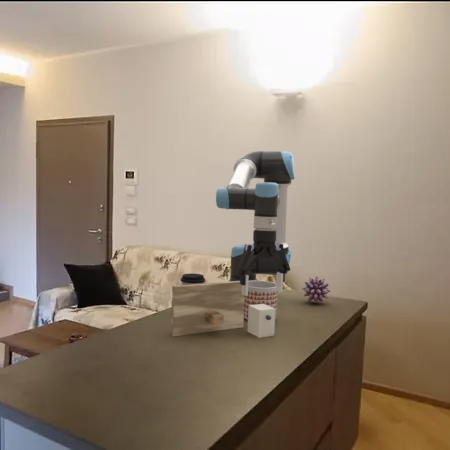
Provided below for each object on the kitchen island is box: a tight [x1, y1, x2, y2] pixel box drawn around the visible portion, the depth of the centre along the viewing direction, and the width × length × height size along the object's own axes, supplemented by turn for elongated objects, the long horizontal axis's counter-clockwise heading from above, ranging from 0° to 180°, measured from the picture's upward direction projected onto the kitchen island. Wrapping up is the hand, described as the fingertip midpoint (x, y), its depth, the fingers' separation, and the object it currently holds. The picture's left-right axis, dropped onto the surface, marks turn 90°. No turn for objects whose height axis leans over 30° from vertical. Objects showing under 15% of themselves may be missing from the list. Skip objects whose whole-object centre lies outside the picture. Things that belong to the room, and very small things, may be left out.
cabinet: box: [247, 304, 276, 339], centre depth 151 cm, size 8×6×9 cm
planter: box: [244, 279, 279, 321], centre depth 172 cm, size 14×14×13 cm
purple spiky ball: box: [301, 275, 331, 304], centre depth 196 cm, size 12×12×12 cm
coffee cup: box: [180, 273, 206, 285], centre depth 171 cm, size 9×9×15 cm
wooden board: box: [170, 281, 245, 337], centre depth 150 cm, size 8×26×16 cm, turn 118°
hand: (262, 293), depth 151 cm, fingers open, 13 cm apart
